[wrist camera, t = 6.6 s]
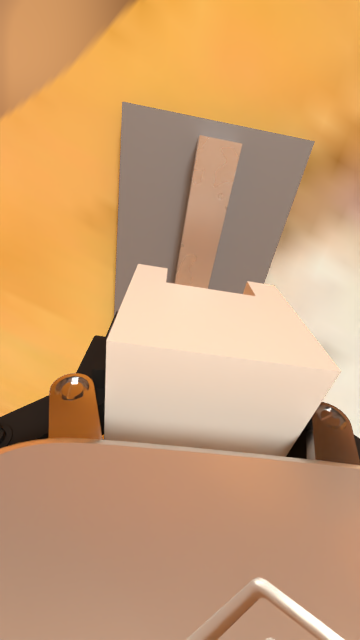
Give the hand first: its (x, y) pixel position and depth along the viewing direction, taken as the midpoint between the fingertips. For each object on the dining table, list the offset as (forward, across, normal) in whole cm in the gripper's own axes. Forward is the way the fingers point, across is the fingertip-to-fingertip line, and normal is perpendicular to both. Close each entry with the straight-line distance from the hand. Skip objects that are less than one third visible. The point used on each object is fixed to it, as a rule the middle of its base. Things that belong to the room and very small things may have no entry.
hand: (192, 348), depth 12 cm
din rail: (+10, 0, 0) cm, 10 cm away
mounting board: (+11, 0, 0) cm, 11 cm away
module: (+1, 0, 0) cm, 1 cm away
